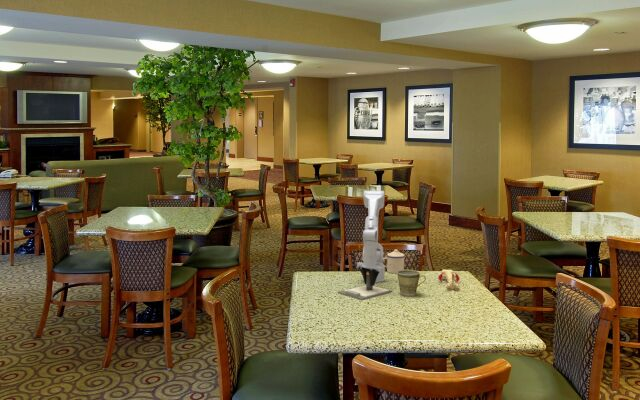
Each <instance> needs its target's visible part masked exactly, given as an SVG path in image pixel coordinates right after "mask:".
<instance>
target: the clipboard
mask: <svg viewBox="0 0 640 400" xmlns="http://www.w3.org/2000/svg"><path fill="white" fill-rule="evenodd" d="M389 293H390V294H391V293H393V290H391V289H387V288H384V287H380V286H376V285H374V286H373V290H367V289H366V284H363V285H360V286H356V287H350V288H347V289H343V290H339V291H337V294H340V295H342V296H347V297H351V298H353V299H356V300H360V301H363V300H368V299H371V298H375V297H377V296H378V297H379V296H382V295H386V294H389Z"/></svg>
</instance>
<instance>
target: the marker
mask: <svg viewBox="0 0 640 400" xmlns="http://www.w3.org/2000/svg"><path fill="white" fill-rule="evenodd" d="M365 285H366V289H367V290H373V286H370V276H369V272H368V271H367V272H366V284H365Z"/></svg>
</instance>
